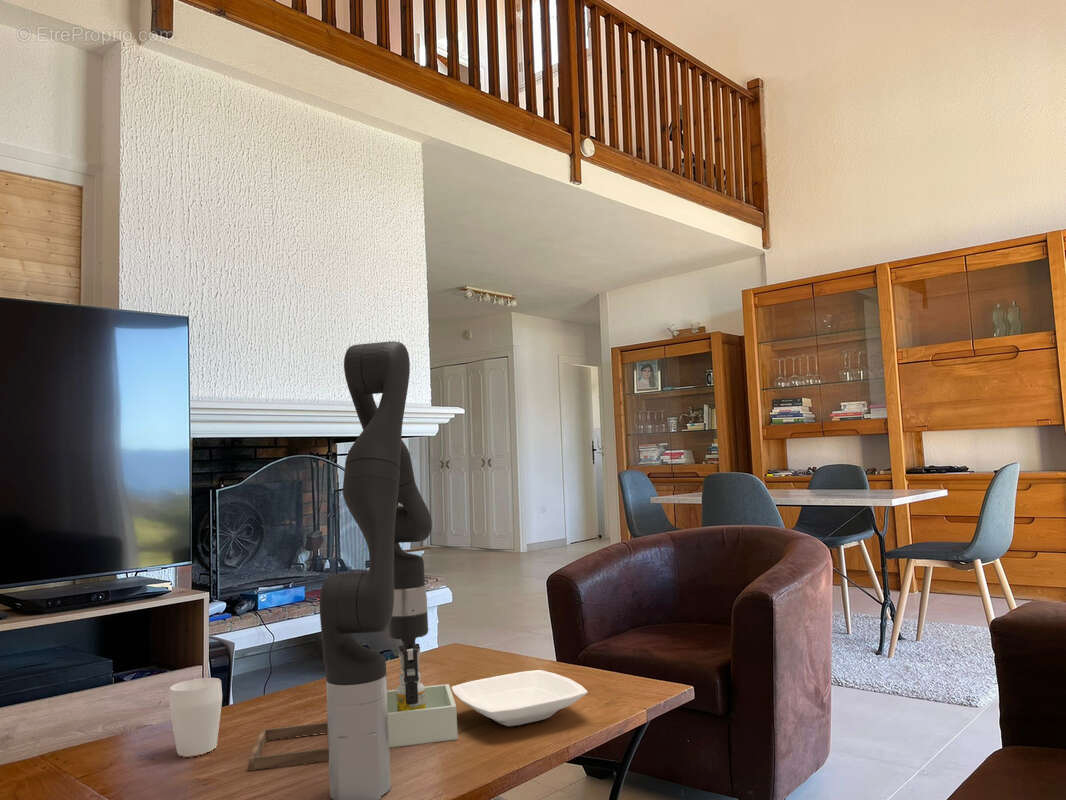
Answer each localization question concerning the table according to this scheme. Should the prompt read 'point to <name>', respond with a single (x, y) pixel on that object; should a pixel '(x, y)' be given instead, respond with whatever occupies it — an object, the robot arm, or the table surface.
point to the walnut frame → (289, 757)
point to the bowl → (520, 696)
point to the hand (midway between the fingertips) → (411, 697)
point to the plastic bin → (423, 718)
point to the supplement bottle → (402, 695)
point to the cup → (196, 715)
